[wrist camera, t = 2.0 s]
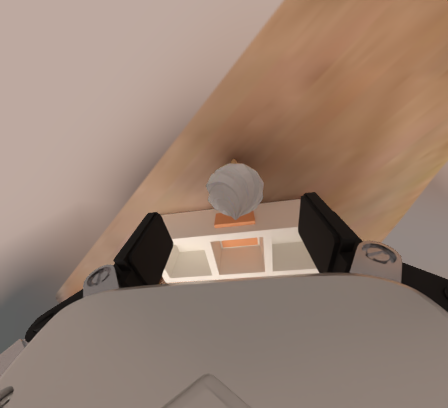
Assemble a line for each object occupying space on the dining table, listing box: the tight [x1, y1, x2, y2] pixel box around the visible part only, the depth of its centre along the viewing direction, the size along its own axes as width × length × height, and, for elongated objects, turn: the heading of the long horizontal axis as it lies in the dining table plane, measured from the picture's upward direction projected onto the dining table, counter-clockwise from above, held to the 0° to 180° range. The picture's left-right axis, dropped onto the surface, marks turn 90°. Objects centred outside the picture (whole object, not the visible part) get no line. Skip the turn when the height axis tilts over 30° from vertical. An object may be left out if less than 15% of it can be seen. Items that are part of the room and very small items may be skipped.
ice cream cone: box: [206, 159, 264, 220], centre depth 18 cm, size 6×6×15 cm
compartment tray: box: [161, 199, 319, 283], centre depth 28 cm, size 28×11×7 cm, turn 99°
